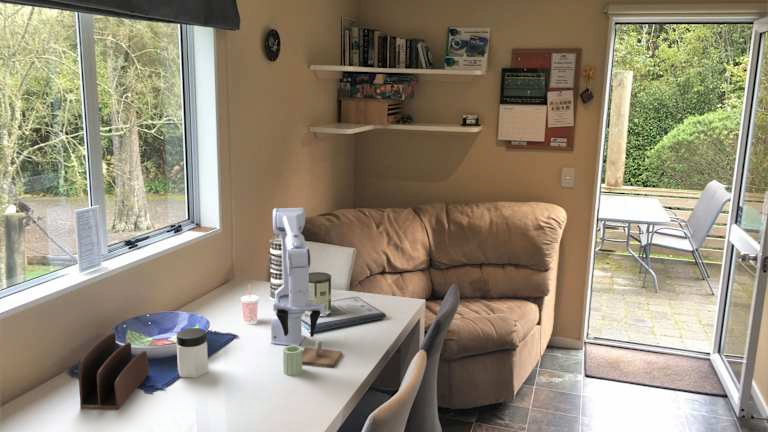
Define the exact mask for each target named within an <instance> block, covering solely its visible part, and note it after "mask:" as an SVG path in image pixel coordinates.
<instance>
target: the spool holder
mask: <svg viewBox="0 0 768 432" xmlns="http://www.w3.org/2000/svg"><path fill="white" fill-rule="evenodd" d="M342 354H343V351H342V350H336V349H325V348H324V349H323V341H321V340H316V341H315V347H308V346H307V347H306V346H305V347H304V348H303V349H302V366H303V365H305V366H315V367H322V368H323V367H324V368H332V369H334V368H335V366H336V365H337V363H338V361H339V359H340V358H341V356H342Z"/></svg>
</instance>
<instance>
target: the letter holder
mask: <svg viewBox="0 0 768 432" xmlns="http://www.w3.org/2000/svg"><path fill="white" fill-rule="evenodd" d="M116 340H117V338H116V333H115V332H113V331H112V332H110V333H108V334H107V335H104V336H103V337H102V338H101V339H99V340H98V341H97V342H96V343H94V345H93V346H91V347H90V348H89V350H87V351H86V353H84V355H83V356H82V357H81V358H80V359H79V361H78V364H77V365H78V366H77V368H78V369H77V370H78V384H79V386H78V387H79V389H78V390H79V403H80V404H79V405H80V409H88V410H89V409H91V410H92V409H93V410H114V411H115V410H119V409H120V408H121V407H122V405H124V403H125V402H126V401H127V400H128V399H129V398H130V396H131V395H132V394H133V393H134V392H135V391H136V390H137V389H138V387H139V386H140V385H141V384H142V383H143V382H144V381H145V379H147V377H148V376H149V375H150V373H149V364H148V353H147V351H146V350H142V351H141V352H140V353H138V354H137V355H136V356H135V357H132V356H133V355H132V343H131V342H126V343H125V344H123V345H121V346H120V347H119V348H118V349H117V341H116ZM148 374H149V375H148ZM147 375H148V376H147ZM146 376H147V377H146ZM143 380H144V381H143ZM142 381H143V382H142ZM141 382H142V383H141Z"/></svg>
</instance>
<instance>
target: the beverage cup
mask: <svg viewBox="0 0 768 432" xmlns="http://www.w3.org/2000/svg"><path fill="white" fill-rule="evenodd" d="M259 300H260V299H259V296H258V295H254V294H251V284H250V283H248V295H244V296H241V297H240V301H241V306H242V307H241V309H242V319H243V324H244V325H255V324H257V323H258V309H259V308H258V306H259V305H258V304H259Z"/></svg>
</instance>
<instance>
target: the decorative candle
mask: <svg viewBox="0 0 768 432" xmlns="http://www.w3.org/2000/svg"><path fill="white" fill-rule="evenodd" d="M269 242H270V249H269V251H268V254H269V255H268V263H269V271H270V275H271V276H270V282H269V284H270V286H269V287H270V289H269V293H270V294H269V298H270V301H271V302H274V299H275V292H276V290H278V289H279V288H280V287H281V286H282V285H283V273H282V245H281V239H280V236H279V235H275V236H272V238H271V239H270V240H269ZM287 295H289V294H284V295H281V296H287Z"/></svg>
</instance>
